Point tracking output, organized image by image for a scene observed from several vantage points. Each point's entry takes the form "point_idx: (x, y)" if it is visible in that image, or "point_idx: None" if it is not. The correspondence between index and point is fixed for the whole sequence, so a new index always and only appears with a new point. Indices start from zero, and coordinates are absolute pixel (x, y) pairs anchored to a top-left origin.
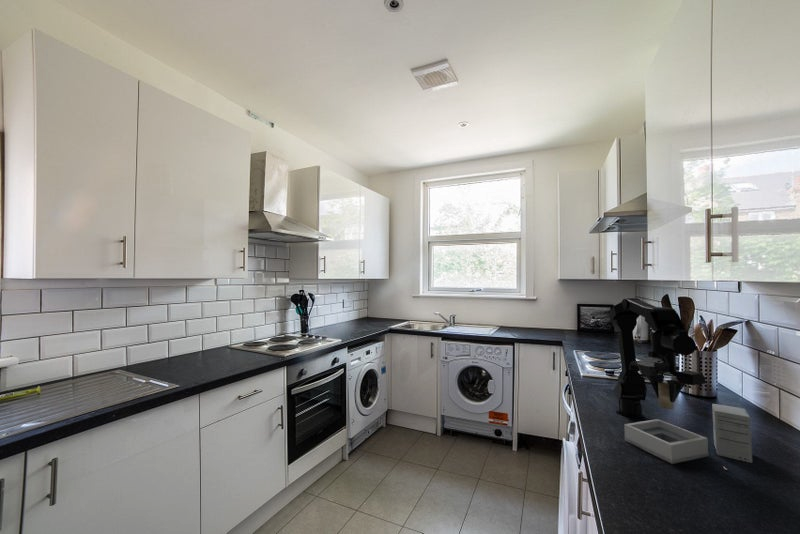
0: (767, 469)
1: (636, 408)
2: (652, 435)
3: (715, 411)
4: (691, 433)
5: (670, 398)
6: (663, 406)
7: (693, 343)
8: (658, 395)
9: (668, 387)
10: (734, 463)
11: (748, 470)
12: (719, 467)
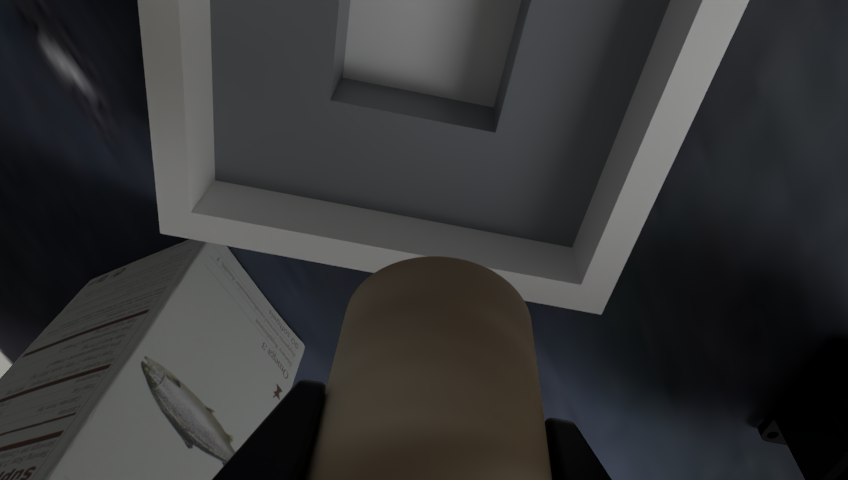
0: (18, 265)
1: (834, 435)
2: None
3: None
4: (275, 228)
5: (294, 430)
6: (431, 271)
7: None
8: (556, 460)
9: None
10: (105, 193)
11: (17, 163)
12: (75, 37)
